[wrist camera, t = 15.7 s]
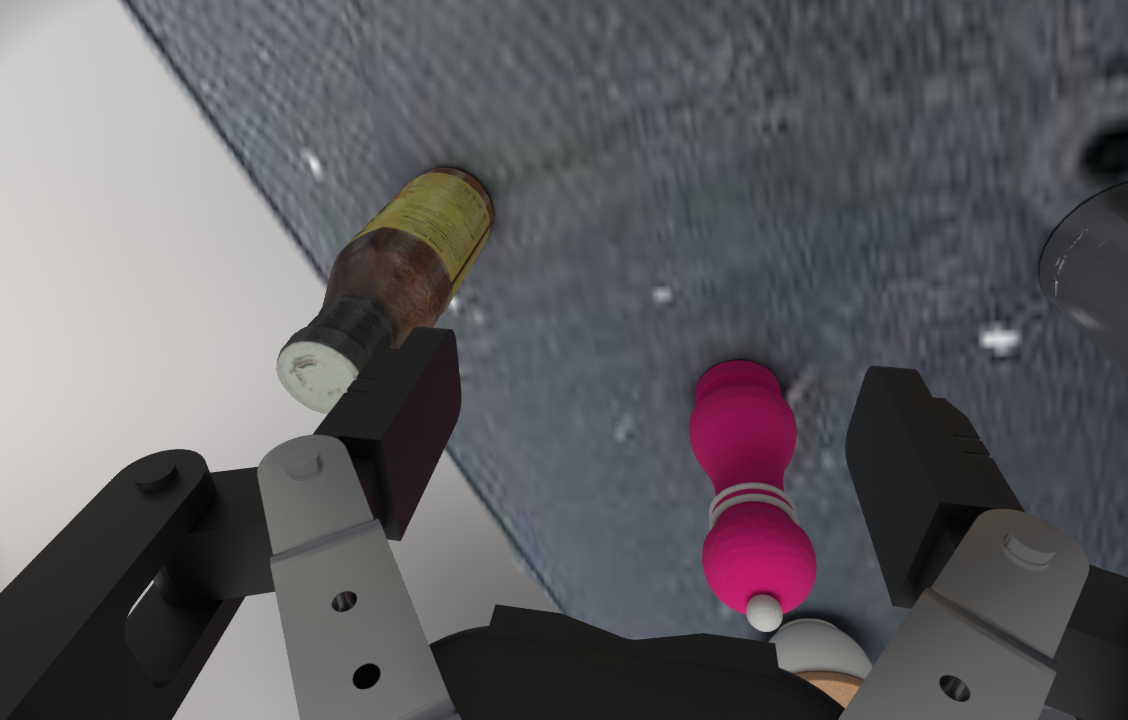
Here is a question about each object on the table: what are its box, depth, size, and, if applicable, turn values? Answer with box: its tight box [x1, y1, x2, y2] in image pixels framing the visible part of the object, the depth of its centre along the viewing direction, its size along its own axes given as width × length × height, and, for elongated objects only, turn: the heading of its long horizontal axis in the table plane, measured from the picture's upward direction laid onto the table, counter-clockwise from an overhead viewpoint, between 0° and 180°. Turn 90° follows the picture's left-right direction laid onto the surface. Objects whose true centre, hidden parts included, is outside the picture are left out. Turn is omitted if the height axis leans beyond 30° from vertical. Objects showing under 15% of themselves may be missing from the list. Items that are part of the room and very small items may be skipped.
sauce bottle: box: [276, 167, 493, 414], centre depth 36 cm, size 7×6×20 cm
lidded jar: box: [768, 618, 873, 708], centre depth 58 cm, size 11×11×9 cm
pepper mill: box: [689, 360, 816, 632], centre depth 40 cm, size 7×7×20 cm
